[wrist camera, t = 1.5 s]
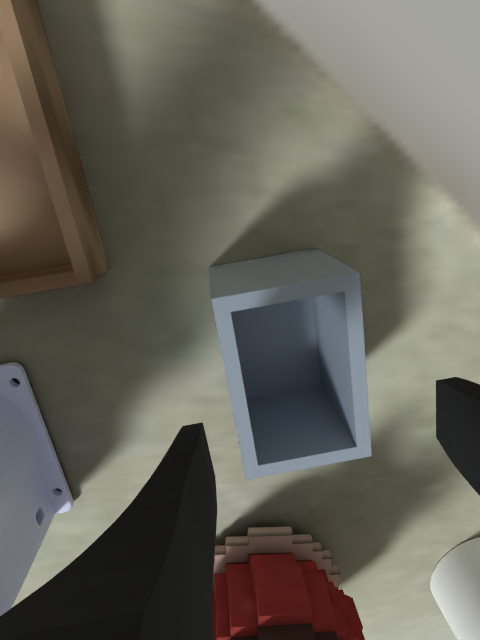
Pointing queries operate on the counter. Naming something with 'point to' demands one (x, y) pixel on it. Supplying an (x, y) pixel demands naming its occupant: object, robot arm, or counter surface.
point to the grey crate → (293, 360)
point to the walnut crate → (40, 168)
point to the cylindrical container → (460, 589)
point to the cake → (279, 590)
